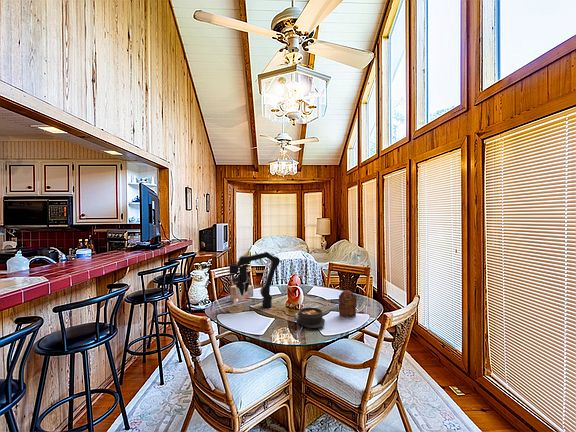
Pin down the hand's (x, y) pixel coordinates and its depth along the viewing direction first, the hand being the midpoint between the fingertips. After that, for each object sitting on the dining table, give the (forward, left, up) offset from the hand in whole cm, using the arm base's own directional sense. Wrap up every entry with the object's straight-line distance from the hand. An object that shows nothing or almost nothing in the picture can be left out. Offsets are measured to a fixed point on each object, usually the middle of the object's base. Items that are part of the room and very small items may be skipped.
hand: (243, 293), depth 234 cm
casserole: (-53, +23, -12) cm, 59 cm away
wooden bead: (+5, +6, -12) cm, 14 cm away
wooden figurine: (-77, +5, -12) cm, 78 cm away
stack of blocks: (+11, -26, -12) cm, 31 cm away
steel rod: (+5, +5, -12) cm, 14 cm away
